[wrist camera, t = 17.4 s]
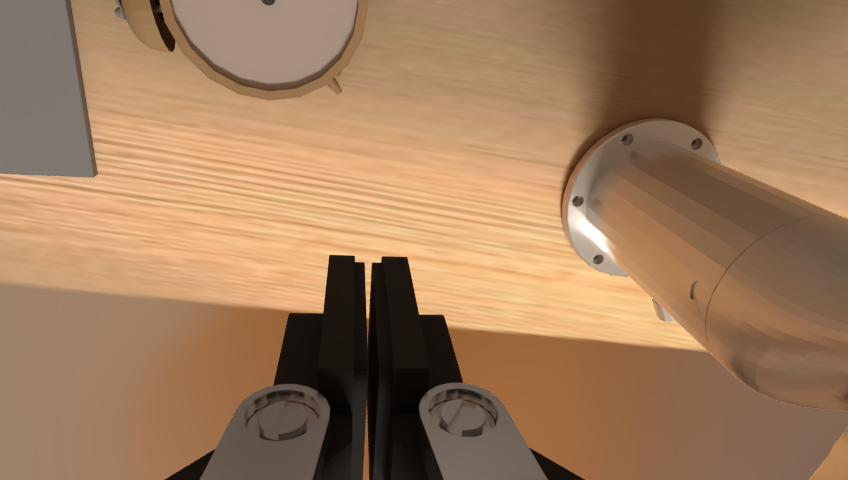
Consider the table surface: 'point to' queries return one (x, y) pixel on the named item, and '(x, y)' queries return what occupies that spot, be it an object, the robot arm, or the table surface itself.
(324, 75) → the alarm clock
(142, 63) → the table surface
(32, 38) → the mat
